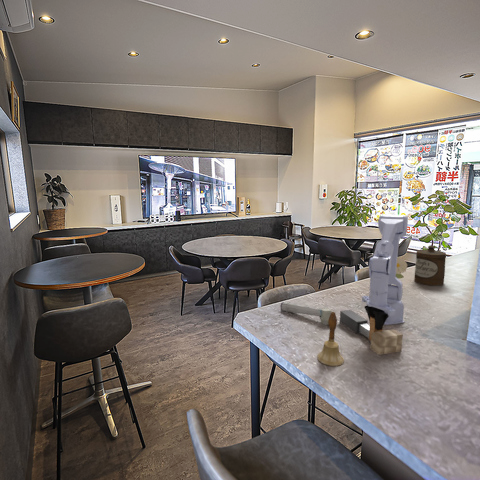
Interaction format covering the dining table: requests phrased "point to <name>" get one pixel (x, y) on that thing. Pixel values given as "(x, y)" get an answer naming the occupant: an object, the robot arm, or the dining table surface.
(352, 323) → the sleeve
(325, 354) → the hand bell
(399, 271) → the flower in vase
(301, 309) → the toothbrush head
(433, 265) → the wooden container
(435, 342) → the dining table surface
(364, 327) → the brown and grey block
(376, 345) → the socket block
